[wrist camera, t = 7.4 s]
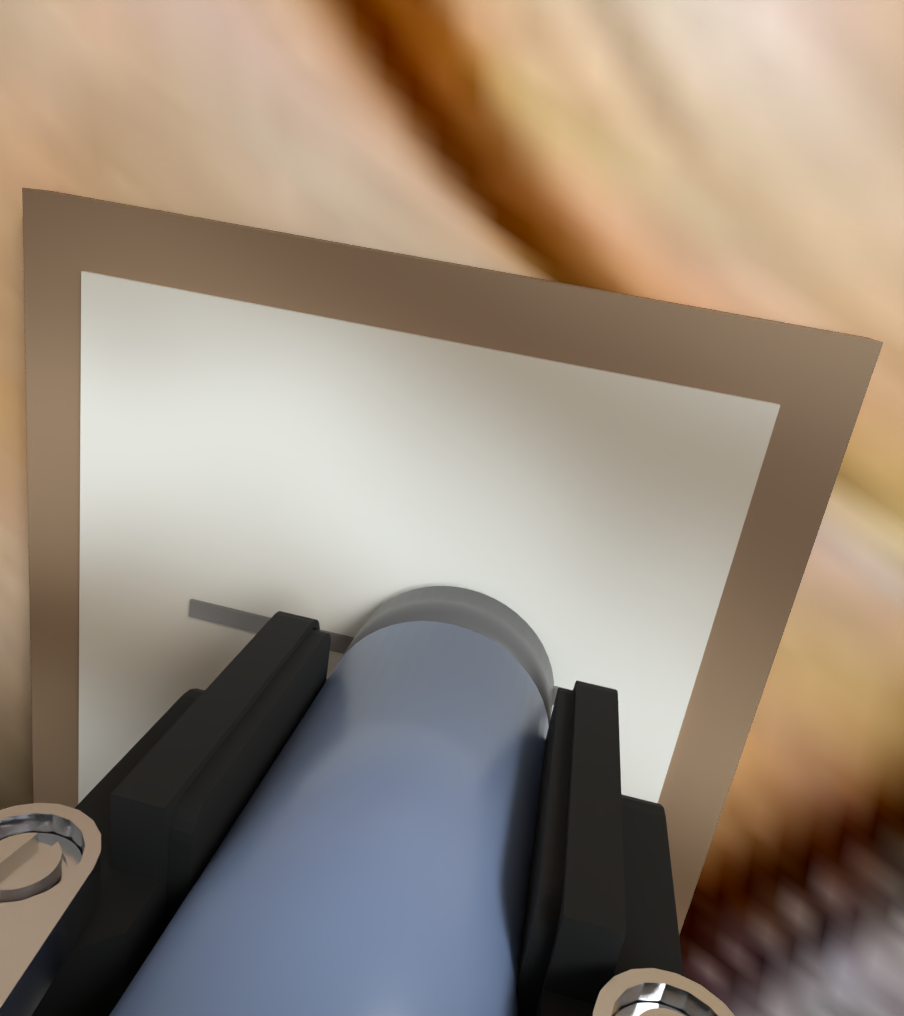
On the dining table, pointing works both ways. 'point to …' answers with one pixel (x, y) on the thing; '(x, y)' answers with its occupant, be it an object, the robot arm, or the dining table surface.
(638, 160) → the dining table surface
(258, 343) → the clipboard
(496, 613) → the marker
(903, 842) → the dining table surface
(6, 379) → the dining table surface
